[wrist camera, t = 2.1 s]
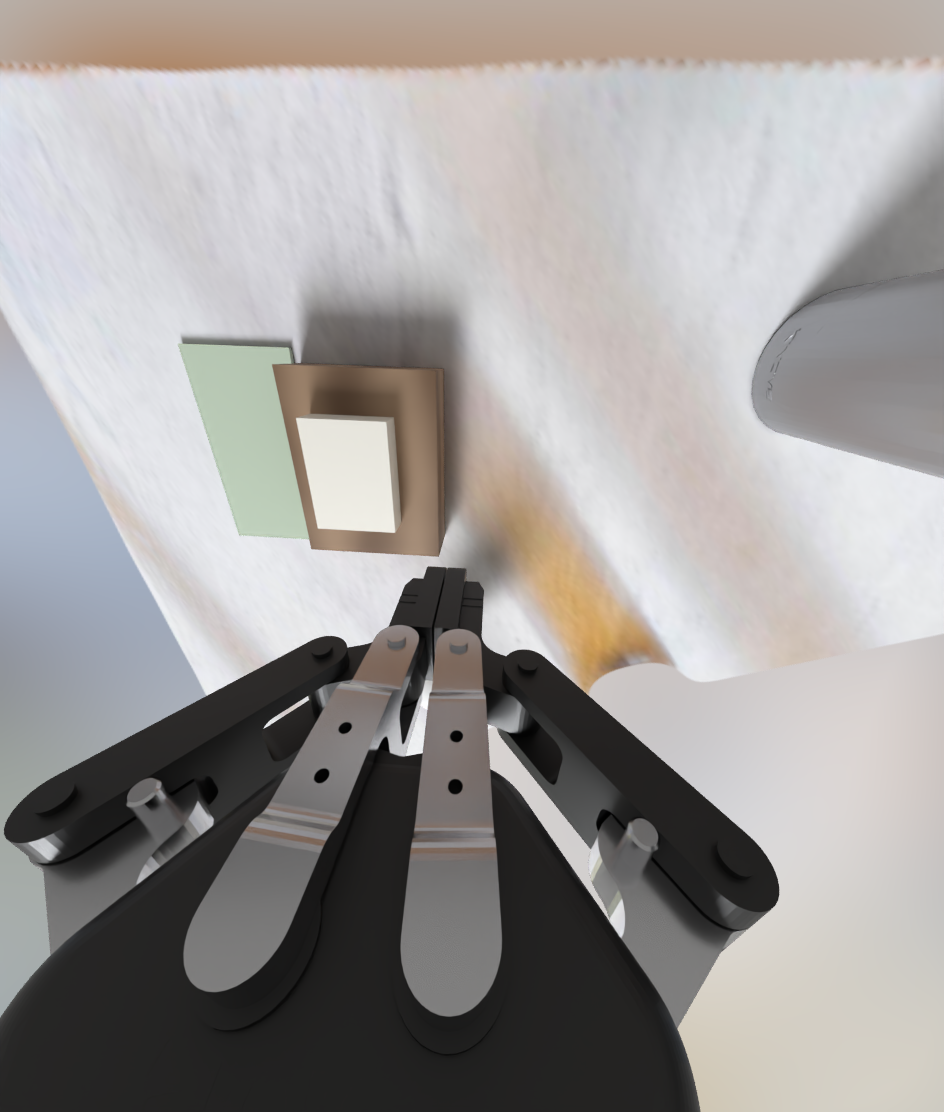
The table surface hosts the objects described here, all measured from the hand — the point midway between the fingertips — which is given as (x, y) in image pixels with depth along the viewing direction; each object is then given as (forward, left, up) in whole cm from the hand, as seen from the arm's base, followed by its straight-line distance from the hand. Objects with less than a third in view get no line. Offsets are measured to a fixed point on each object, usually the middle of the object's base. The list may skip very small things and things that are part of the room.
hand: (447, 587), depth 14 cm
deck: (+8, 0, -19) cm, 20 cm away
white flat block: (+8, 0, -15) cm, 17 cm away
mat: (+18, 0, -19) cm, 26 cm away
